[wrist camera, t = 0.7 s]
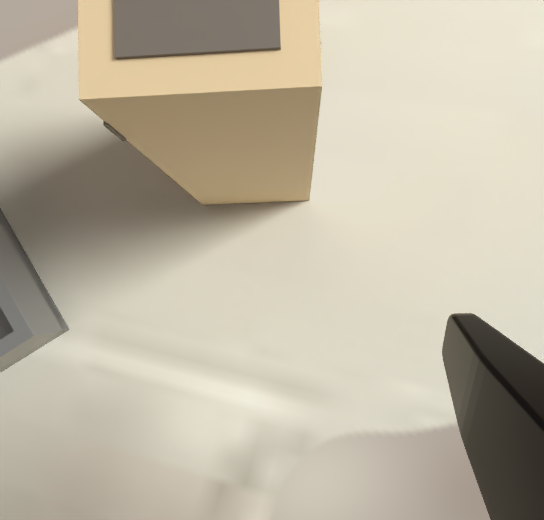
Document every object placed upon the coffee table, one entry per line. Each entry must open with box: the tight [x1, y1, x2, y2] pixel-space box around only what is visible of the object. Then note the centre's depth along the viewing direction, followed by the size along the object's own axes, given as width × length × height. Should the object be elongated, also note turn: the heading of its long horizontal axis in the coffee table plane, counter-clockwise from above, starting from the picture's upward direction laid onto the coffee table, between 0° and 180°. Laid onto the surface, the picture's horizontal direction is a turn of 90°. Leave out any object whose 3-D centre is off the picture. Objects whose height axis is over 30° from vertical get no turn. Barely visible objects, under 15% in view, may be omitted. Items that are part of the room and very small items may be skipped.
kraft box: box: [78, 0, 322, 205], centre depth 16 cm, size 5×5×13 cm
